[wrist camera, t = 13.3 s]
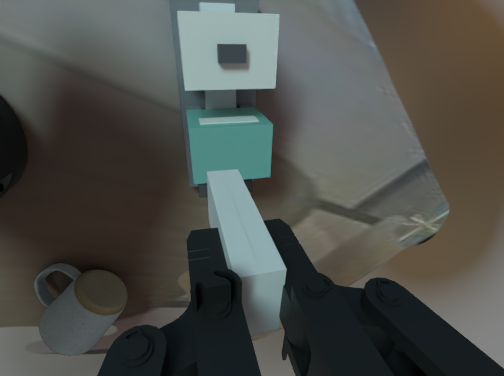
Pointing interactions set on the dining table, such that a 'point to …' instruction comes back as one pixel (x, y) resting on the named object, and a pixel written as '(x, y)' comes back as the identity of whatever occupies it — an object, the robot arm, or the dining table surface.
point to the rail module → (229, 141)
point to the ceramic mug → (79, 308)
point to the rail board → (222, 57)
